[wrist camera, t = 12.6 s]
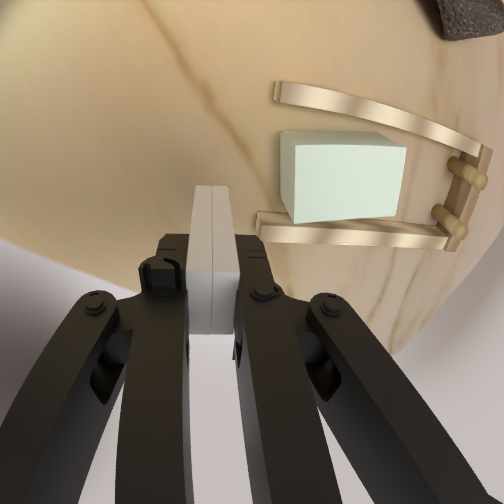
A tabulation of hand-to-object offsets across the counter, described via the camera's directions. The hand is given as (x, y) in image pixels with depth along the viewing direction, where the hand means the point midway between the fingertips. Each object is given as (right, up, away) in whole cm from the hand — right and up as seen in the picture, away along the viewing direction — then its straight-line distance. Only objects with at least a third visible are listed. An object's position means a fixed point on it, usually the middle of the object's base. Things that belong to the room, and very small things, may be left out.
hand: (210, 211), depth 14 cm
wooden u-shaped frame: (+15, +5, +11) cm, 19 cm away
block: (+9, +6, +10) cm, 15 cm away
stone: (+21, +23, 0) cm, 31 cm away
